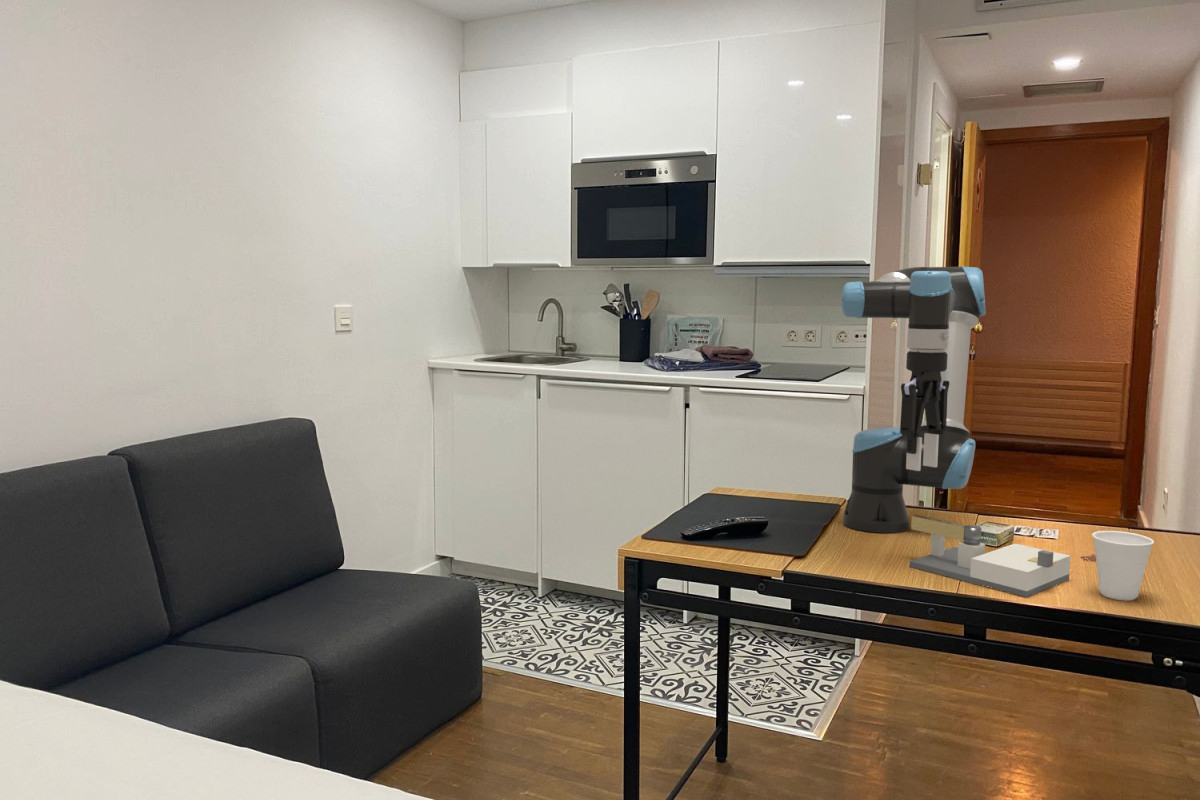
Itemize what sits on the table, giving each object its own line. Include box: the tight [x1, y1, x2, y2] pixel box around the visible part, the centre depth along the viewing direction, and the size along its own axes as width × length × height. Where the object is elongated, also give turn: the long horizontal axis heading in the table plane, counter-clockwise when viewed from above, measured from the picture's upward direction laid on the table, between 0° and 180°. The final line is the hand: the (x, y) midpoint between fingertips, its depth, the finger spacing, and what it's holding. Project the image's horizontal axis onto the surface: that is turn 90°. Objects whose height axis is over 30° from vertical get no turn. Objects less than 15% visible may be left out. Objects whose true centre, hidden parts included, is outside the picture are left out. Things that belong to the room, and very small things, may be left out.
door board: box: [908, 533, 1071, 598], centre depth 181 cm, size 25×17×7 cm
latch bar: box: [910, 514, 982, 544], centre depth 186 cm, size 15×3×3 cm, turn 39°
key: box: [1080, 553, 1096, 563], centre depth 187 cm, size 6×1×15 cm
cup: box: [1091, 530, 1155, 602], centre depth 168 cm, size 10×10×11 cm
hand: (921, 467), depth 182 cm, fingers open, 5 cm apart
